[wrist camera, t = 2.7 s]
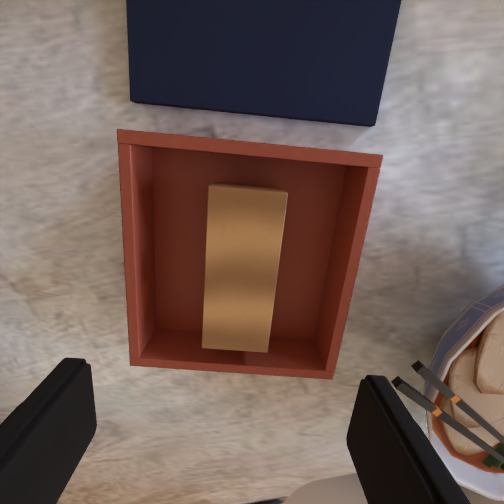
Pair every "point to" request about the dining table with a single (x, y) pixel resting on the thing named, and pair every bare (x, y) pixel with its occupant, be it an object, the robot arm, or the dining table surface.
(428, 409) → the ramen bowl
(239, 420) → the dining table surface
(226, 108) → the mat
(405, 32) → the dining table surface
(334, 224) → the red open tray
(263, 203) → the tall wooden block
